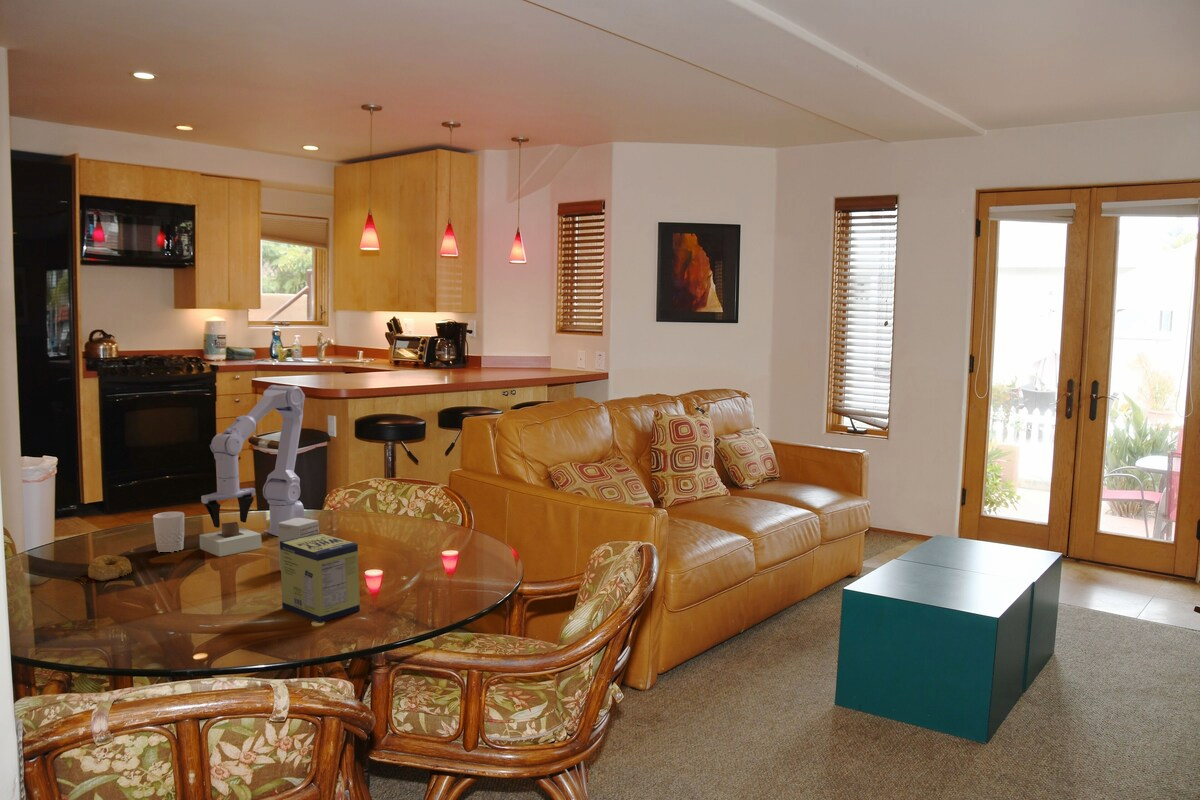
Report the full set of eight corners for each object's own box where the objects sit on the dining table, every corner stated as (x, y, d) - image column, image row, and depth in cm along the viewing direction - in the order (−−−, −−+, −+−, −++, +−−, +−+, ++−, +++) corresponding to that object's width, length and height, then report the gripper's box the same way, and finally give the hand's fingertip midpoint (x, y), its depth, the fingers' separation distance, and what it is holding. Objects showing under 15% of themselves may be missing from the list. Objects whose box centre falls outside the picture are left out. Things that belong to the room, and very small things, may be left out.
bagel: (82, 583, 221) (81, 564, 220) (94, 571, 231) (93, 553, 231) (126, 580, 223) (126, 562, 223) (136, 568, 234) (136, 550, 234)
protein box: (321, 596, 211) (319, 531, 209) (361, 611, 201) (359, 543, 200) (280, 608, 203) (278, 541, 201) (320, 623, 193) (318, 553, 191)
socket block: (241, 540, 261) (240, 526, 260) (261, 548, 253) (261, 534, 252) (200, 548, 252) (199, 534, 251) (219, 556, 244) (219, 542, 243)
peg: (237, 545, 255) (236, 521, 254) (239, 549, 251) (238, 524, 251) (222, 547, 253) (221, 523, 252) (224, 551, 249) (223, 526, 249)
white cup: (177, 554, 247) (175, 518, 245) (149, 553, 247) (147, 517, 246) (191, 546, 254) (189, 511, 253) (163, 545, 255) (161, 511, 254)
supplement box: (278, 570, 231) (276, 522, 230) (300, 563, 238) (298, 516, 237) (299, 574, 228) (297, 525, 227) (321, 567, 235) (319, 519, 233)
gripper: (246, 471, 258) (248, 517, 259) (195, 478, 247) (197, 526, 249) (258, 474, 253) (260, 521, 255) (206, 482, 243) (209, 531, 244)
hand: (230, 524), depth 251 cm, fingers open, 7 cm apart
